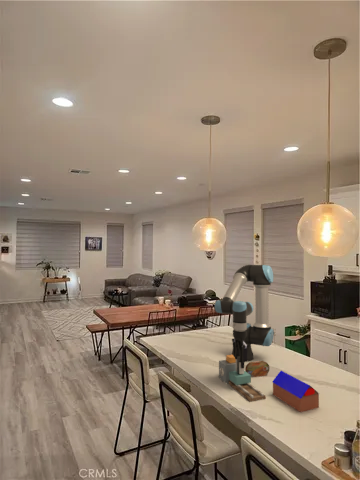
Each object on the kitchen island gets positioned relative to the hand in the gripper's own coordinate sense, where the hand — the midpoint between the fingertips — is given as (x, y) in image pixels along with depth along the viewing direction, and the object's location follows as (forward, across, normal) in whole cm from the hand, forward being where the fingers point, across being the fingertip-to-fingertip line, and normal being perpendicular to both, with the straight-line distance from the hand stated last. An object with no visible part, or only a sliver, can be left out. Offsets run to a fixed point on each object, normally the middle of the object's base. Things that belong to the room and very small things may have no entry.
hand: (239, 372), depth 174 cm
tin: (+8, -9, +17) cm, 21 cm away
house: (+8, +24, +17) cm, 31 cm away
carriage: (+5, 0, 0) cm, 5 cm away
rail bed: (+8, +6, 0) cm, 10 cm away
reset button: (-3, -10, 0) cm, 10 cm away
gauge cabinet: (+8, -10, 0) cm, 12 cm away
